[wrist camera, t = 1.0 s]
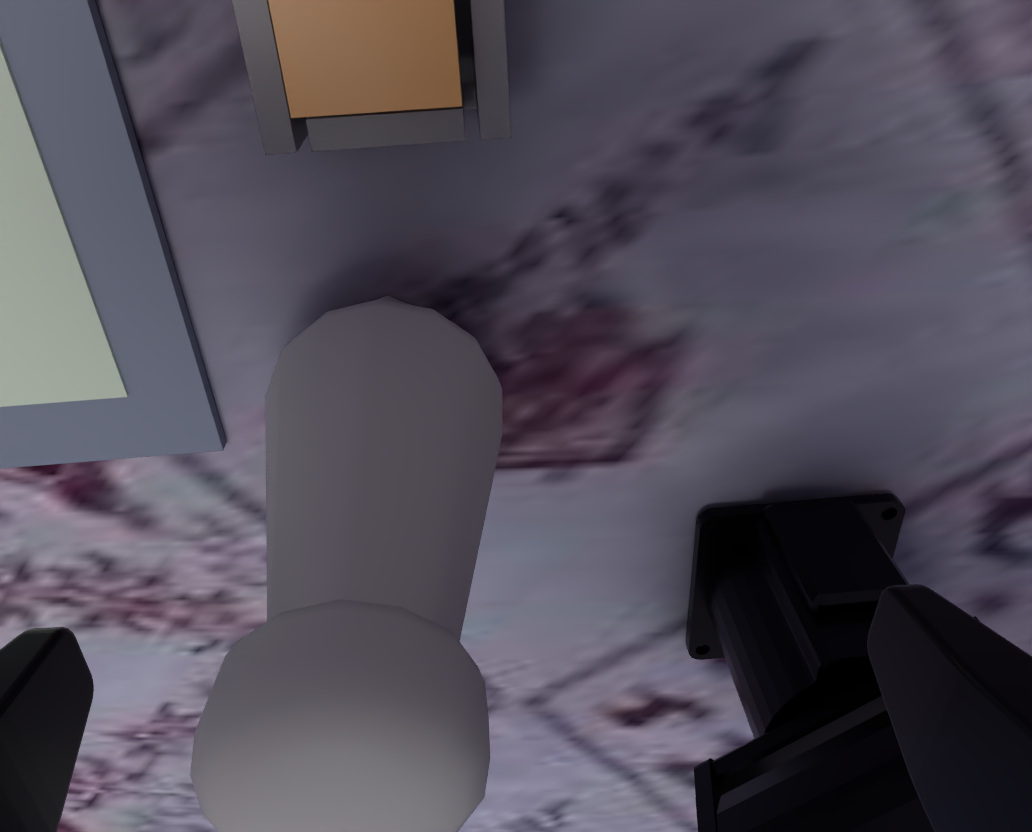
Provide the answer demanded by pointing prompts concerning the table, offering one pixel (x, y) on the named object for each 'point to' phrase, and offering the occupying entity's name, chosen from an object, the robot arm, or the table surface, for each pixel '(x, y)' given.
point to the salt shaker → (362, 588)
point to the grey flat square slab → (85, 261)
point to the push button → (367, 55)
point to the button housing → (479, 88)
